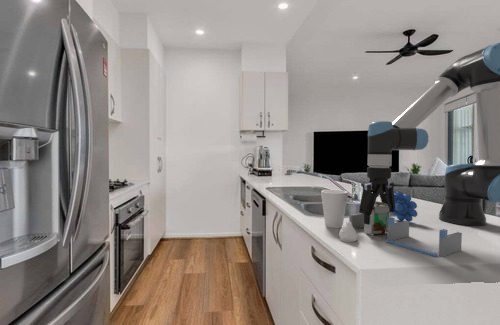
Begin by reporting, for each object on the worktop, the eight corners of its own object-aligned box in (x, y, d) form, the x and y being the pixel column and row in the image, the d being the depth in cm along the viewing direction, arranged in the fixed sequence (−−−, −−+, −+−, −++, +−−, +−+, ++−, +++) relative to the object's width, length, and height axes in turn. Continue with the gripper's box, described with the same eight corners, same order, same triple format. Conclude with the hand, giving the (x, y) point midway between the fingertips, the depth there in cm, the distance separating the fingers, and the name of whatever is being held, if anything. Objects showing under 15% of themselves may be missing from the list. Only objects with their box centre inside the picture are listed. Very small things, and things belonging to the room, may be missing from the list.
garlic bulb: (360, 222, 86) (345, 223, 84) (360, 241, 86) (344, 243, 85) (350, 218, 91) (335, 219, 90) (350, 236, 91) (335, 237, 90)
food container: (394, 238, 90) (395, 207, 89) (374, 237, 91) (375, 206, 90) (382, 227, 102) (383, 200, 102) (365, 226, 103) (365, 200, 103)
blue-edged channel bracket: (367, 225, 106) (367, 206, 105) (461, 250, 79) (462, 226, 78) (345, 229, 100) (345, 209, 99) (438, 258, 73) (439, 231, 72)
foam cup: (321, 228, 101) (321, 192, 101) (320, 221, 110) (321, 189, 110) (348, 229, 99) (349, 193, 98) (345, 223, 108) (346, 190, 107)
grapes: (382, 219, 114) (382, 190, 114) (389, 217, 119) (390, 189, 118) (412, 225, 105) (413, 194, 105) (419, 222, 109) (420, 192, 109)
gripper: (388, 165, 104) (386, 225, 105) (348, 166, 93) (347, 233, 94) (408, 166, 97) (406, 230, 98) (367, 168, 87) (366, 239, 88)
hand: (377, 231), depth 96 cm, fingers open, 9 cm apart
